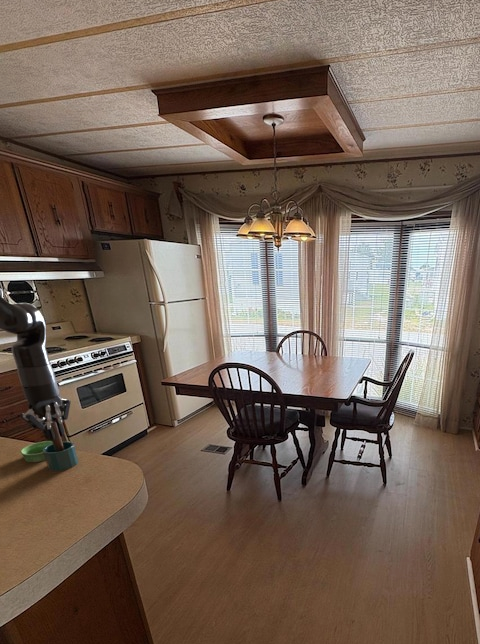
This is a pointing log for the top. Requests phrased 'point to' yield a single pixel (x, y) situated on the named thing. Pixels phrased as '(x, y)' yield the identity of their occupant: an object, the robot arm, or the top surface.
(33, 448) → the ramekin
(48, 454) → the cup
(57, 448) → the brown cylinder rod
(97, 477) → the top surface
